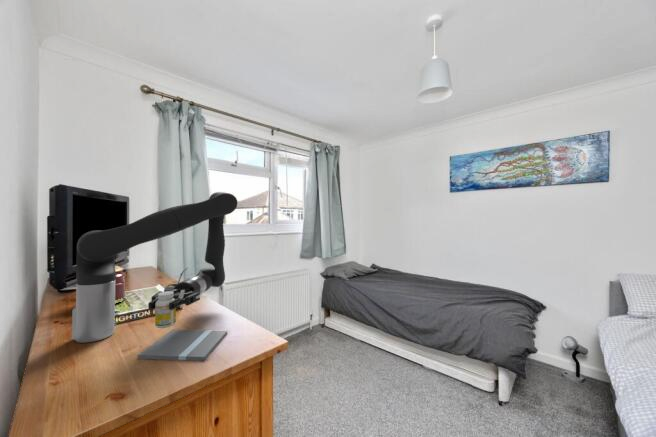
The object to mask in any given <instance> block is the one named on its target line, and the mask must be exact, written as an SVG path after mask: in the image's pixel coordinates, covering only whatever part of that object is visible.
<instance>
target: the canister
mask: <svg viewBox="0 0 656 437" xmlns="http://www.w3.org/2000/svg"><path fill="white" fill-rule="evenodd" d="M115 272H116V277H115V300H118V299H121V298H124V297H125V298H126V282H127V281H126V280H125V276H126V275H127V274H126V272H124V267H121V266H120V265H115Z"/></svg>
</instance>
